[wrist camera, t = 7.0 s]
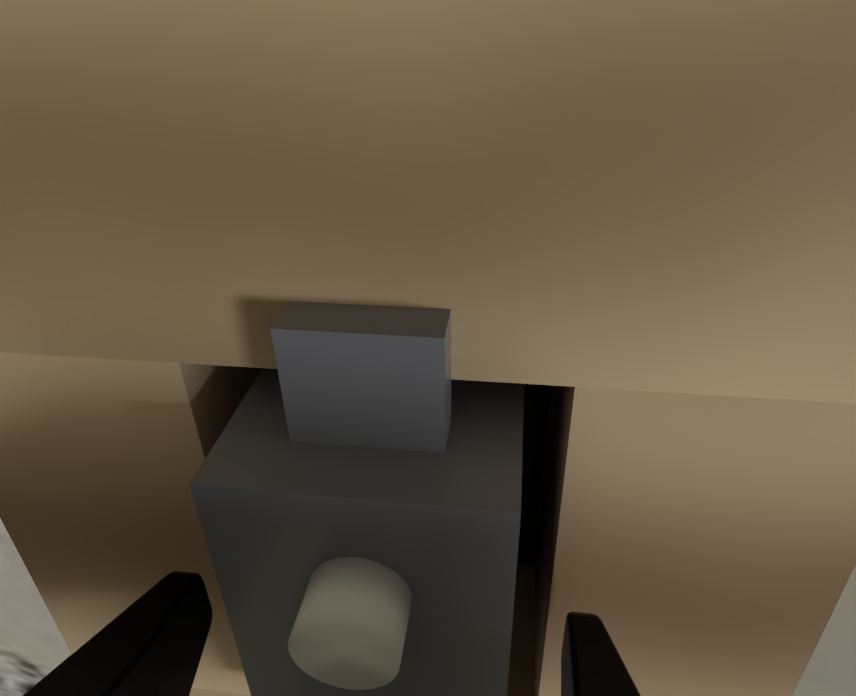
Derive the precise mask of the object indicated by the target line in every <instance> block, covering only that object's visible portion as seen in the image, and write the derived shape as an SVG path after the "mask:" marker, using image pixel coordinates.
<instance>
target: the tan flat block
mask: <svg viewBox="0 0 856 696" xmlns="http://www.w3.org/2000/svg"><path fill="white" fill-rule="evenodd" d="M289 301H292V302H312V303H333V304H353V305H373V306H394V307H414V308H435V309H451V379H452V380H469V381H486V382H503V383H519V384H536V385H552V386H551V397H550V407H549V418H548V429H547V439H546V450H545V461H544V471H543V482H542V492H541V503H540V514H539V524H538V535H537V546H536V556H535V565H524V564H517V571H516V584H515V597H514V610H513V623H512V636H511V648H510V661H509V674H508V687H507V696H561V652H562V643H563V636H564V629H565V622H566V616H567V614H568V613H569V612H582V613H592V614H596V615H597V616H599V617H600V619H601V620H602V622H603V624H604V625H605V627H606V629H607V631H608V633H609V635H610V637H611V639H612V641H613V643H614V645H615V647H616V649H617V651H618V653H619V654H620V656H621V658H622V660H623V662H624V664H625V666H626V668H627V670H628V672H629V674H630V676H631V678H632V680H633V681H634V683H635V685H636V687H637V689H638V691H639V693H640V695H641V696H792V695H793V693H794V691H795V689H796V687H797V684H798V682H799V680H800V678H801V676H802V674H803V672H804V670H805V668H806V666H807V664H808V662H809V660H810V658H811V655H812V653H813V651H814V649H815V647H816V645H817V643H818V641H819V639H820V637H821V635H822V633H823V631H824V629H825V627H826V624H827V622H828V620H829V618H830V616H831V614H832V612H833V610H834V608H835V606H836V604H837V602H838V600H839V598H840V595H841V593H842V591H843V589H844V587H845V585H846V583H847V581H848V579H849V577H850V575H851V573H852V571H853V569H854V566H855V564H856V0H0V518H1V520H2V522H3V524H4V525H5V527H6V529H7V531H8V533H9V535H10V537H11V539H12V541H13V543H14V545H15V546H16V548H17V550H18V552H19V554H20V556H21V558H22V560H23V562H24V564H25V566H26V567H27V569H28V571H29V573H30V575H31V577H32V579H33V581H34V583H35V585H36V586H37V588H38V590H39V592H40V594H41V596H42V598H43V600H44V602H45V604H46V606H47V607H48V609H49V611H50V613H51V615H52V617H53V619H54V621H55V623H56V625H57V627H58V628H59V630H60V632H61V634H62V636H63V638H64V640H65V642H66V644H67V646H68V648H69V649H70V651H71V653H72V654H73V653H74V652H75V651H77V650H78V649H79V648H80V647H81V646H82V645H84V644H85V643H86V642H87V641H88V640H90V639H91V638H92V637H93V636H94V635H96V634H97V633H98V632H99V631H100V630H102V629H103V628H104V627H105V626H106V625H107V624H109V623H110V622H111V621H112V620H113V619H115V618H116V617H117V616H118V615H119V614H121V613H122V612H123V611H124V610H125V609H127V608H128V607H129V606H130V605H131V604H132V603H134V602H135V601H136V600H137V599H138V598H140V597H141V596H142V595H143V594H144V593H146V592H147V591H148V590H149V589H150V588H152V587H153V586H154V585H155V584H156V583H157V582H159V581H160V580H161V579H162V578H163V577H165V576H166V575H167V574H169V573H171V572H173V571H184V572H193V573H198V574H200V575H201V576H202V578H203V580H204V584H205V587H206V590H207V593H208V596H209V600H210V603H211V606H212V613H213V615H212V623H211V627H210V630H209V633H208V637H207V640H206V643H205V646H204V650H203V653H202V656H201V659H200V663H199V666H198V669H197V672H196V675H195V679H194V682H193V685H192V688H191V692H190V695H189V696H251V694H250V690H249V687H248V684H247V680H246V677H245V673H244V670H243V666H242V663H241V660H240V656H239V653H238V649H237V646H236V642H235V639H234V636H233V632H232V629H231V625H230V622H229V618H228V615H227V612H226V608H225V605H224V601H223V598H222V594H221V591H220V588H219V584H218V581H217V577H216V574H215V570H214V567H213V564H212V560H211V557H210V553H209V550H208V546H207V543H206V540H205V536H204V533H203V529H202V526H201V522H200V519H199V516H198V512H197V509H196V505H195V502H194V498H193V495H192V492H191V488H190V485H189V484H190V482H191V481H192V479H193V477H194V476H195V474H196V473H197V471H198V470H199V468H200V466H201V465H202V463H203V462H204V460H205V458H206V457H207V455H208V454H209V452H210V450H211V449H212V447H213V446H214V444H215V443H216V441H217V439H218V438H219V436H220V435H221V433H222V431H223V430H224V428H225V427H226V425H227V424H228V422H229V420H230V419H231V417H232V416H233V414H234V412H235V411H236V409H237V408H238V406H239V404H240V403H241V401H242V400H243V398H244V397H245V395H246V393H247V392H248V390H249V389H250V387H251V385H252V384H253V382H254V381H255V379H256V378H257V376H258V374H259V373H260V371H261V370H262V368H269V369H277V363H276V357H275V352H274V346H273V340H272V334H271V327H272V326H273V324H274V323H275V321H276V320H277V318H278V317H279V315H280V314H281V313H282V311H283V310H284V308H285V307H286V305H287V304H288V302H289Z"/></svg>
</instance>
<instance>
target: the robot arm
mask: <svg viewBox="0 0 856 696" xmlns="http://www.w3.org/2000/svg"><path fill="white" fill-rule="evenodd" d="M212 615H213V613H212V606H211V603H210V600H209V596H208V593H207V590H206V587H205V584H204V580H203V578H202V576H201V575H200V574H198V573H193V572H184V571H173V572H171V573H169V574H167V575H166V576H165V577H163V578H162V579H161V580H160V581H159V582H157V583H156V584H155V585H154V586H153V587H152V588H150V589H149V590H148V591H147V592H146V593H144V594H143V595H142V596H141V597H140V598H138V599H137V600H136V601H135V602H134V603H132V604H131V605H130V606H129V607H128V608H127V609H125V610H124V611H123V612H122V613H121V614H119V615H118V616H117V617H116V618H115V619H113V620H112V621H111V622H110V623H109V624H107V625H106V626H105V627H104V628H103V629H102V630H100V631H99V632H98V633H97V634H96V635H94V636H93V637H92V638H91V639H90V640H88V641H87V642H86V643H85V644H84V645H82V646H81V647H80V648H79V649H78V650H77V651H75V652H74V653H73V654H72V655H71V656H69V657H68V658H67V659H66V660H65V661H63V662H62V663H61V664H60V665H59V666H57V667H56V668H55V669H54V670H53V671H51V672H50V673H49V674H48V675H47V676H46V677H44V678H43V679H42V680H41V681H40V682H38V683H37V684H36V685H35V686H34V687H32V688H31V689H30V690H29V691H28V692H26V693H25V694H24V695H23V696H189V695H190V692H191V688H192V685H193V682H194V679H195V675H196V672H197V669H198V666H199V663H200V659H201V656H202V653H203V650H204V646H205V643H206V640H207V637H208V633H209V630H210V627H211V623H212ZM561 696H641V695H640V693H639V691H638V689H637V687H636V685H635V683H634V681H633V680H632V678H631V676H630V674H629V672H628V670H627V668H626V666H625V664H624V662H623V660H622V658H621V656H620V654H619V653H618V651H617V649H616V647H615V645H614V643H613V641H612V639H611V637H610V635H609V633H608V631H607V629H606V627H605V625H604V624H603V622H602V620H601V619H600V617H599V616H597V615H596V614H592V613H582V612H569V613H568V614H567V616H566V622H565V629H564V636H563V643H562V652H561Z"/></svg>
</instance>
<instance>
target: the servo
mask: <svg viewBox="0 0 856 696" xmlns="http://www.w3.org/2000/svg"><path fill="white" fill-rule="evenodd" d="M271 334H272V340H273V346H274V352H275V357H276V363H277V369H269V368H262V370H261V371H260V373H259V374H258V376H257V378H256V379H255V381H254V382H253V384H252V385H251V387H250V389H249V390H248V392H247V393H246V395H245V397H244V398H243V400H242V401H241V403H240V404H239V406H238V408H237V409H236V411H235V412H234V414H233V416H232V417H231V419H230V420H229V422H228V424H227V425H226V427H225V428H224V430H223V431H222V433H221V435H220V436H219V438H218V439H217V441H216V443H215V444H214V446H213V447H212V449H211V450H210V452H209V454H208V455H207V457H206V458H205V460H204V462H203V463H202V465H201V466H200V468H199V470H198V471H197V473H196V474H195V476H194V477H193V479H192V481H191V482H190V484H189V485H190V488H191V492H192V495H193V498H194V502H195V505H196V509H197V512H198V516H199V519H200V522H201V526H202V529H203V533H204V536H205V540H206V543H207V546H208V550H209V553H210V557H211V560H212V564H213V567H214V570H215V574H216V577H217V581H218V584H219V588H220V591H221V594H222V598H223V601H224V605H225V608H226V612H227V615H228V618H229V622H230V625H231V629H232V632H233V636H234V639H235V642H236V646H237V649H238V653H239V656H240V660H241V663H242V666H243V670H244V673H245V677H246V680H247V684H248V687H249V690H250V694H251V696H507V687H508V674H509V661H510V648H511V636H512V623H513V610H514V597H515V584H516V571H517V558H518V545H519V532H520V519H521V493H522V453H523V414H524V384H519V383H503V382H486V381H469V380H452V379H451V309H435V308H414V307H394V306H373V305H353V304H333V303H312V302H292V301H289V302H288V304H287V305H286V307H285V308H284V310H283V311H282V313H281V314H280V315H279V317H278V318H277V320H276V321H275V323H274V324H273V326H272V327H271Z"/></svg>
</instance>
